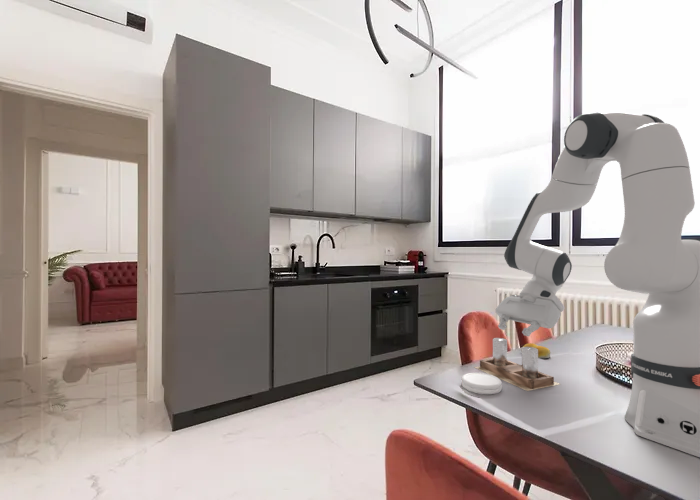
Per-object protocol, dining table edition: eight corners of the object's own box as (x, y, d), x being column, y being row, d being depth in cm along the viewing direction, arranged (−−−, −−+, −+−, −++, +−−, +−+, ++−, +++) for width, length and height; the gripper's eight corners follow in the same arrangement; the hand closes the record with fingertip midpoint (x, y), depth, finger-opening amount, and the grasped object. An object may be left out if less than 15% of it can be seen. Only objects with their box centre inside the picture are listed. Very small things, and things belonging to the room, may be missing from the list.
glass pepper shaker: (510, 370, 106) (510, 340, 106) (499, 372, 104) (499, 341, 104) (500, 366, 109) (500, 337, 109) (490, 367, 108) (489, 338, 108)
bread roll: (543, 361, 118) (542, 349, 118) (517, 354, 126) (517, 343, 126) (555, 356, 123) (555, 345, 123) (530, 350, 130) (530, 339, 130)
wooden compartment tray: (560, 387, 95) (560, 376, 95) (527, 394, 90) (527, 383, 90) (503, 365, 113) (503, 356, 113) (473, 370, 109) (473, 360, 109)
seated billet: (541, 382, 95) (541, 349, 95) (530, 385, 94) (530, 351, 94) (529, 378, 99) (529, 346, 99) (518, 380, 98) (518, 347, 98)
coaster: (506, 401, 87) (505, 386, 87) (464, 398, 89) (463, 384, 89) (497, 385, 97) (497, 373, 97) (459, 383, 99) (459, 371, 99)
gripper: (504, 288, 121) (482, 319, 117) (559, 294, 102) (534, 331, 98) (514, 300, 123) (493, 331, 119) (570, 308, 104) (546, 345, 100)
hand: (512, 331), depth 109 cm, fingers open, 8 cm apart
